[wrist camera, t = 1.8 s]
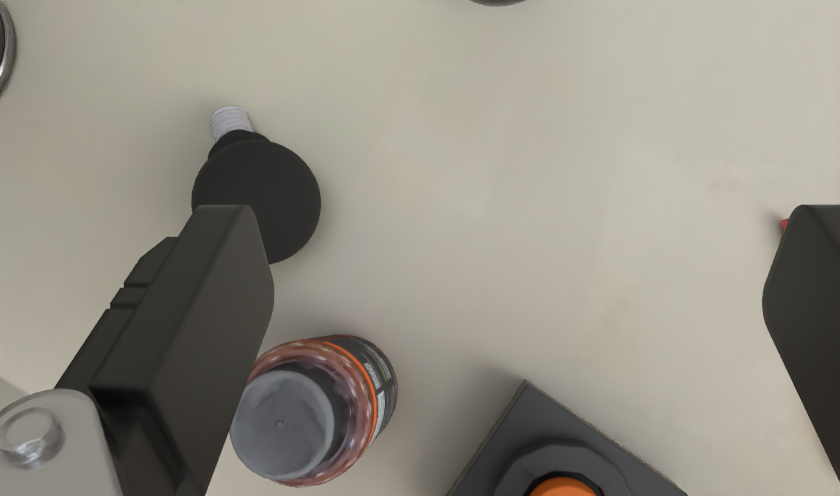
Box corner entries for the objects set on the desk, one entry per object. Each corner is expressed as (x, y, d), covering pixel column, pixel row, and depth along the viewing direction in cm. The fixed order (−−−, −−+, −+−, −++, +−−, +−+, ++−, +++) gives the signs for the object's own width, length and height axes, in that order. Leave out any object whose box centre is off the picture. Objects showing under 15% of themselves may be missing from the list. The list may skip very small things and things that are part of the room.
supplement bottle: (270, 406, 35) (168, 447, 23) (329, 313, 35) (255, 309, 24) (362, 468, 34) (301, 542, 23) (421, 372, 34) (390, 398, 23)
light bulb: (228, 45, 33) (283, 189, 28) (303, 107, 38) (360, 237, 33) (140, 119, 34) (177, 268, 29) (224, 169, 39) (267, 302, 35)
